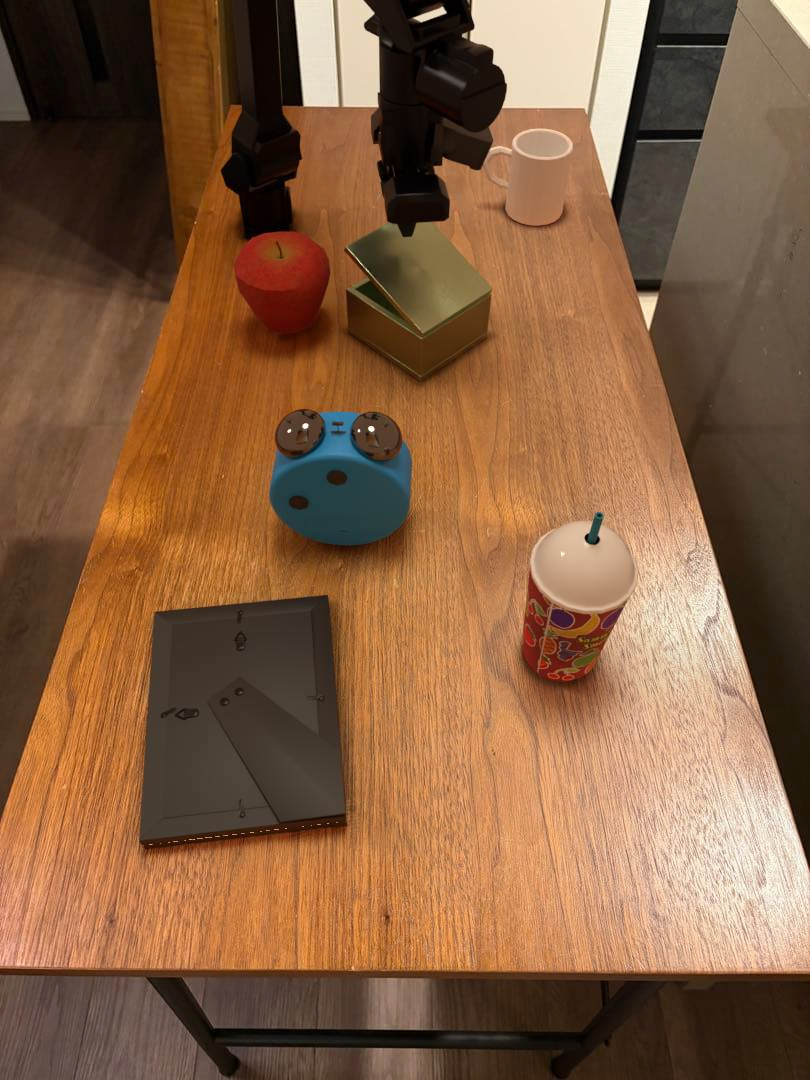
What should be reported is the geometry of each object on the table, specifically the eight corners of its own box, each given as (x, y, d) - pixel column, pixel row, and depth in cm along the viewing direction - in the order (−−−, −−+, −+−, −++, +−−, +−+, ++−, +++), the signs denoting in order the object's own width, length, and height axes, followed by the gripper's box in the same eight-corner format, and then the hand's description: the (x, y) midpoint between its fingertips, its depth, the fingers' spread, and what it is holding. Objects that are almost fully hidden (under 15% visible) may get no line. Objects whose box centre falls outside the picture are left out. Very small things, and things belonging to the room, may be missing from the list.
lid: (343, 250, 95) (345, 245, 94) (416, 211, 100) (418, 206, 99) (421, 337, 94) (423, 333, 93) (490, 293, 99) (493, 288, 98)
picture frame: (347, 825, 67) (329, 606, 80) (345, 813, 65) (327, 590, 77) (145, 849, 66) (159, 623, 78) (136, 837, 63) (152, 606, 76)
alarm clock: (411, 505, 87) (413, 397, 75) (408, 552, 83) (410, 447, 72) (284, 500, 87) (267, 391, 76) (276, 547, 84) (257, 441, 72)
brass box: (348, 332, 104) (345, 288, 99) (414, 291, 109) (415, 248, 104) (420, 381, 99) (422, 338, 94) (487, 337, 104) (491, 294, 99)
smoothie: (579, 713, 73) (630, 581, 57) (494, 667, 76) (521, 529, 60) (618, 642, 77) (675, 501, 62) (536, 601, 80) (571, 456, 64)
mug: (478, 191, 124) (484, 124, 116) (561, 196, 123) (572, 129, 115) (476, 222, 119) (482, 154, 111) (562, 227, 118) (573, 160, 110)
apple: (278, 368, 100) (266, 281, 90) (227, 324, 105) (210, 237, 95) (351, 329, 104) (347, 242, 95) (299, 289, 109) (289, 202, 100)
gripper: (508, 135, 77) (492, 281, 90) (474, 46, 89) (465, 186, 101) (387, 141, 76) (388, 287, 89) (368, 51, 88) (372, 191, 100)
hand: (407, 235), depth 95 cm, fingers closed
